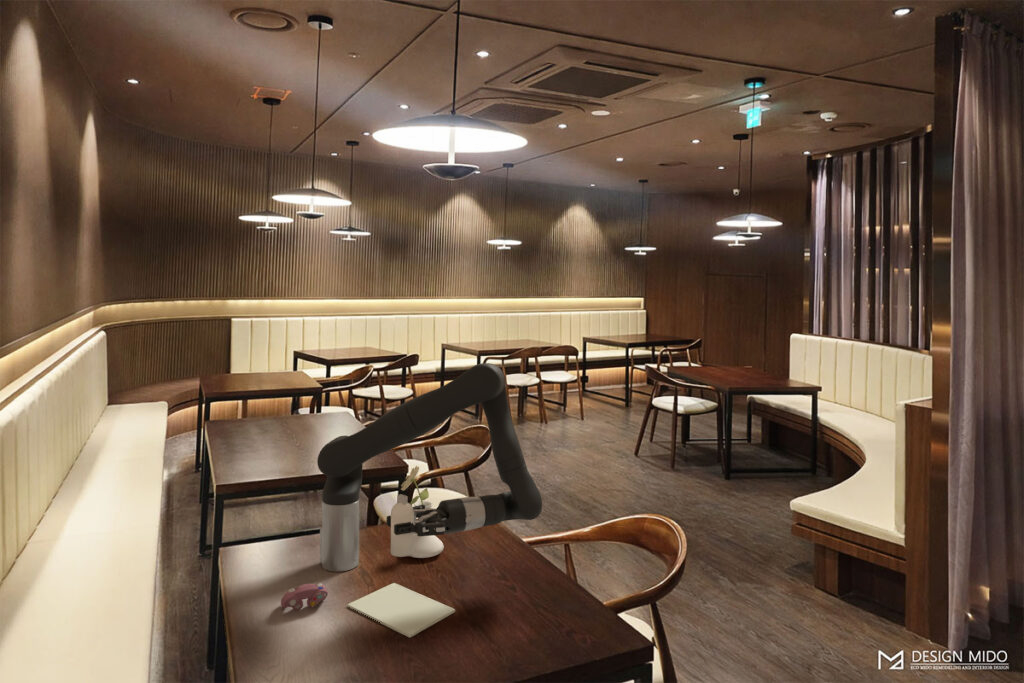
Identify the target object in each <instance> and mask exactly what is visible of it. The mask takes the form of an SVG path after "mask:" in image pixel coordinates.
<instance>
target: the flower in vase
mask: <svg viewBox="0 0 1024 683" xmlns="http://www.w3.org/2000/svg"><path fill="white" fill-rule="evenodd" d="M419 471H420V466H418V465H415V467H413V468H412V469H411V470H410V473H409V474H408V475H406V477H405V480H404V481H403V482H402V484H401V485H400V487H401V488H400V490H401V491H403V492H404V491H405V490H406V489H407V488H408V487H409V486H410V485H412V483H414V485H415V487H416V490H417V492H418V495H416V496H414V497H413V498H412V499H411V501H410V502H409V504H410V505H414V506H418V505H425V509H426V508H432V506H433V505H434V504H433V502H432V501H429V500H426V499H429V496H430V494H429V491H428V488H427V487H426V488H424V490H422V491H421V492H420V490H419V486H418V485H417V482H416V480H415V478H416V477H417V475H418V473H419ZM418 499H419V501H418ZM414 506H413V507H414ZM444 548H445V545H444V543H443V542H442V540H441V539H439V538H438V537H437V535H433V536H417V534H414V542H413V553H412V554H411V555H409V556H408V557H412V558H417V559H424V558H425V559H427V558H431V557H432V558H433V557H434V556H437V555H439V554H441V553H442V552H443V550H444Z"/></svg>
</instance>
